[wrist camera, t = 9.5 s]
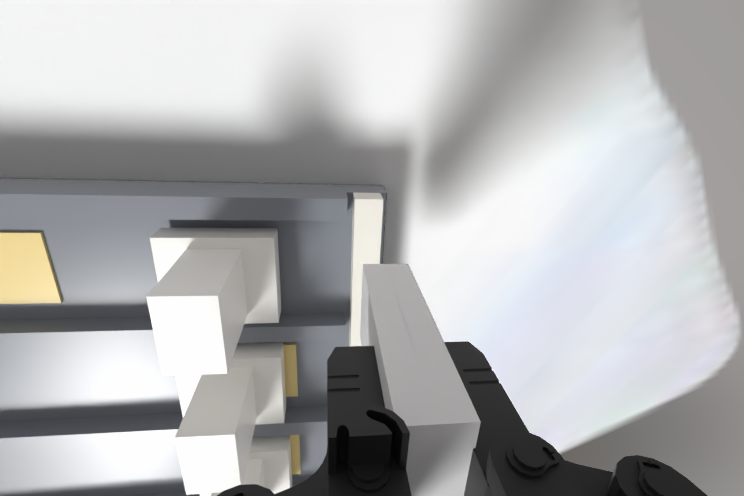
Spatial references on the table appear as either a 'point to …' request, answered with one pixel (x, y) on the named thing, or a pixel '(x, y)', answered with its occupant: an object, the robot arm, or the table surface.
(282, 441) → the tab
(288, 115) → the table surface
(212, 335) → the tab
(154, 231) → the switch bank
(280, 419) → the tab
